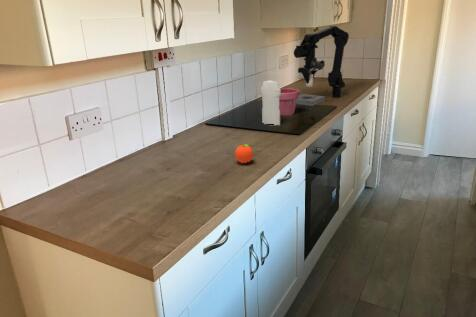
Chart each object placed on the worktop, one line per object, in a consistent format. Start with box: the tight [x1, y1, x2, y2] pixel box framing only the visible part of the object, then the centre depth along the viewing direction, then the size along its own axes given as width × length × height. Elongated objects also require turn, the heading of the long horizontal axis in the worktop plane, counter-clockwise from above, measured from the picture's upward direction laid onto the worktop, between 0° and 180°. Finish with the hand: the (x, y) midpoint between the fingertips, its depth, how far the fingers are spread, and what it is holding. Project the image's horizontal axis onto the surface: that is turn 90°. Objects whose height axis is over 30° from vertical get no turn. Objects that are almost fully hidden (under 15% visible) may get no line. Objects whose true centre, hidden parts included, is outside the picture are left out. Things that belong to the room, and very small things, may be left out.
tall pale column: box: [260, 79, 282, 126], centre depth 198 cm, size 11×4×22 cm, turn 61°
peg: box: [305, 74, 314, 88], centre depth 240 cm, size 4×4×7 cm
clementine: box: [234, 144, 254, 164], centre depth 152 cm, size 8×7×7 cm
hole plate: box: [296, 93, 326, 107], centre depth 245 cm, size 16×16×3 cm
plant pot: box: [279, 88, 300, 116], centre depth 218 cm, size 14×14×13 cm
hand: (309, 83), depth 240 cm, fingers closed on peg, 4 cm apart
